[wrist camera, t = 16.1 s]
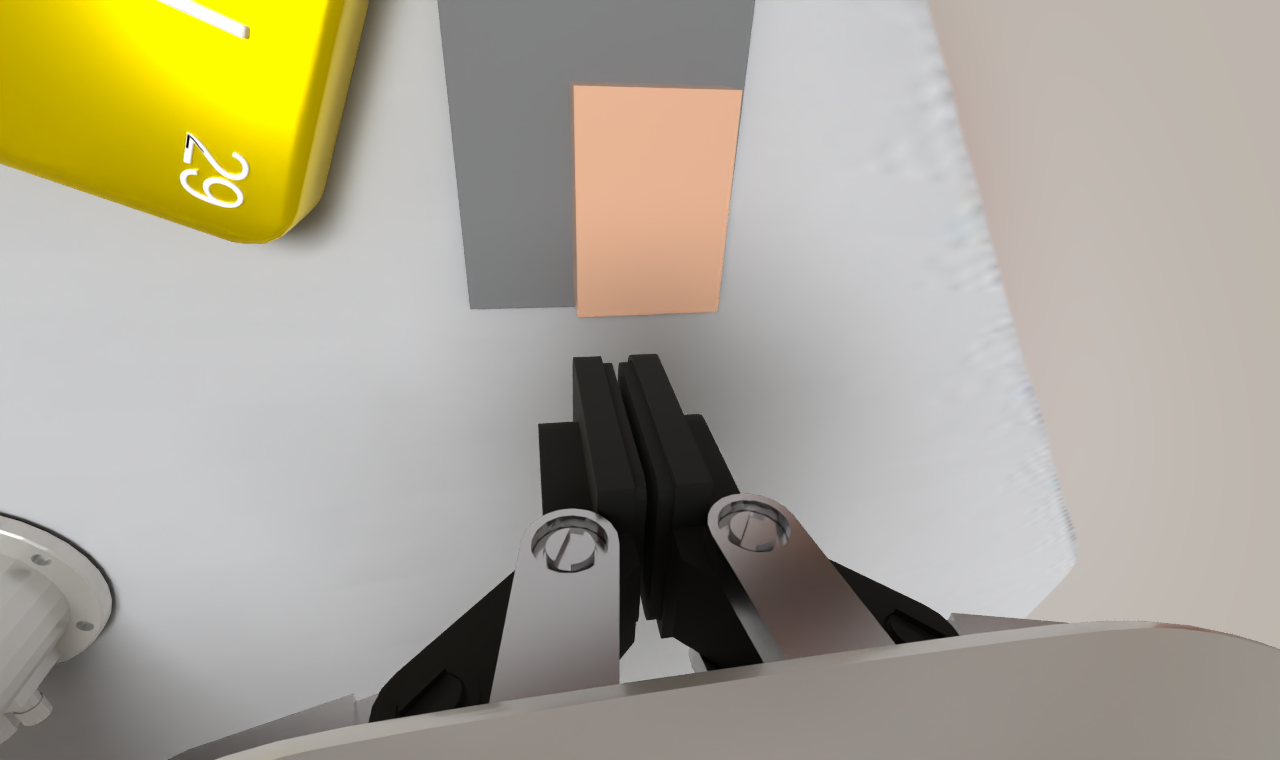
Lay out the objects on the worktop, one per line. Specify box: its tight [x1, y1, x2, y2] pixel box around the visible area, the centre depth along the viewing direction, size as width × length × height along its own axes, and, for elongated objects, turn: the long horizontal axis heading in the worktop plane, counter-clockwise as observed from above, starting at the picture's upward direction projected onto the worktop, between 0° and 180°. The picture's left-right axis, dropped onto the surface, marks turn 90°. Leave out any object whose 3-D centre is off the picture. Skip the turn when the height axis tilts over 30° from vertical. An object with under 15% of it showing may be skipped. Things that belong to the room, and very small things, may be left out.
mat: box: [438, 0, 755, 309], centre depth 27 cm, size 17×13×1 cm
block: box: [569, 81, 743, 317], centre depth 27 cm, size 10×2×7 cm
